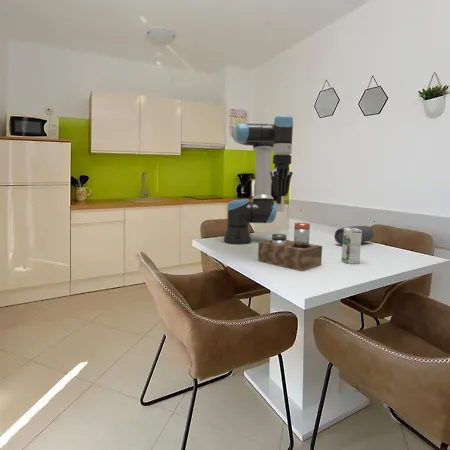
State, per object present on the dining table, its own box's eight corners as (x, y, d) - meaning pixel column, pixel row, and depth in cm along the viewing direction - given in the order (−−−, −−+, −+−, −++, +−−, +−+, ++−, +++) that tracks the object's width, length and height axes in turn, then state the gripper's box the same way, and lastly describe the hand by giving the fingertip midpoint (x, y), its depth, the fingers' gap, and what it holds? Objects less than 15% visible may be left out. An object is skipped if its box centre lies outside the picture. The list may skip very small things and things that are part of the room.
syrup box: (340, 260, 150) (343, 227, 148) (354, 260, 151) (356, 227, 149) (346, 263, 145) (348, 229, 143) (360, 263, 145) (362, 229, 143)
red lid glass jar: (290, 247, 140) (291, 223, 139) (298, 246, 144) (299, 222, 143) (303, 250, 136) (304, 225, 134) (311, 248, 140) (312, 223, 139)
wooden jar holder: (258, 260, 148) (258, 242, 146) (277, 255, 157) (278, 238, 156) (302, 271, 132) (303, 250, 131) (321, 264, 142) (322, 245, 141)
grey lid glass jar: (268, 257, 148) (269, 234, 147) (276, 255, 153) (277, 233, 151) (280, 260, 144) (280, 236, 143) (288, 257, 149) (289, 235, 147)
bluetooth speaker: (359, 241, 199) (360, 224, 198) (373, 243, 191) (375, 226, 190) (332, 244, 187) (333, 226, 185) (347, 247, 179) (348, 228, 178)
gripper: (280, 153, 135) (278, 213, 139) (298, 155, 145) (296, 211, 148) (265, 154, 141) (263, 211, 144) (283, 155, 150) (281, 209, 153)
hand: (280, 211), depth 146 cm, fingers closed
